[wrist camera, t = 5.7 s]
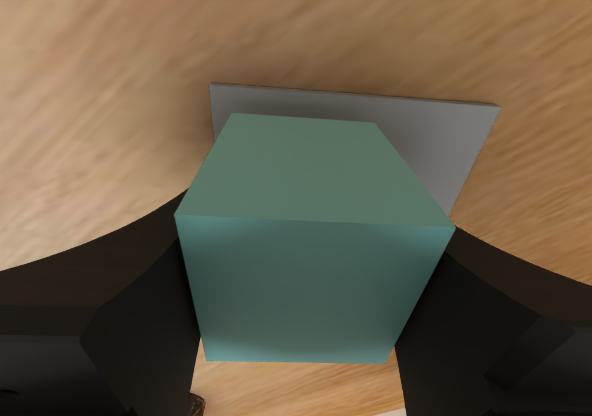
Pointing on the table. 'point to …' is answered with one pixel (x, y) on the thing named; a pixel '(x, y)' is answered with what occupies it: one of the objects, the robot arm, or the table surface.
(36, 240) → the table surface
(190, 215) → the mint green cube
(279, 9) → the table surface
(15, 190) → the table surface
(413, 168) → the mat
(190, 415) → the deodorant
